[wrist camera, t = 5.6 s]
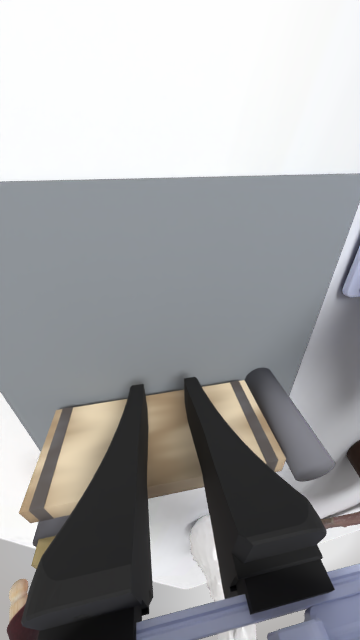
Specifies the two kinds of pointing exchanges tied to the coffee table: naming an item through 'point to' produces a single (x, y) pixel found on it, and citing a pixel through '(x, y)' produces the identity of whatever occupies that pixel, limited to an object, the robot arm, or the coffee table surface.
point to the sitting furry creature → (214, 572)
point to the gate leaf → (163, 447)
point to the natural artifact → (342, 520)
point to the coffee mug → (355, 456)
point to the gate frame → (166, 294)
